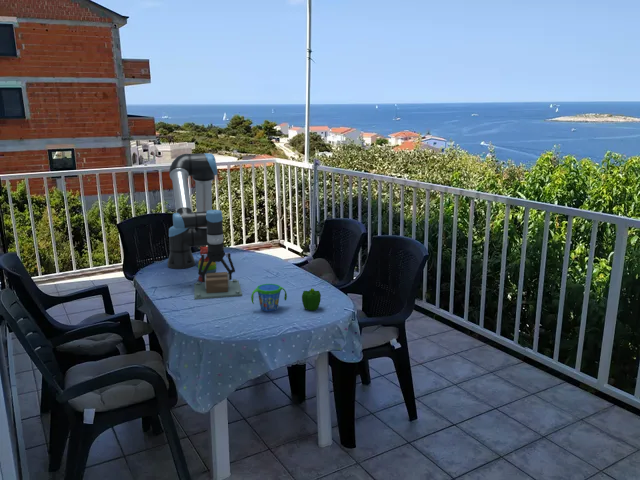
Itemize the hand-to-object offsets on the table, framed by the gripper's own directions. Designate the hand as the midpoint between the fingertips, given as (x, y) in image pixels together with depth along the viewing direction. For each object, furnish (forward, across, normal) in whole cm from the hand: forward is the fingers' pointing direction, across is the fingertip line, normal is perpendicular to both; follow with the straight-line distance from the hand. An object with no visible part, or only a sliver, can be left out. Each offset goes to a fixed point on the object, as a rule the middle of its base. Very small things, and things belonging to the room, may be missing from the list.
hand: (217, 287), depth 254 cm
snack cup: (+2, +21, -31) cm, 37 cm away
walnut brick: (+1, 0, 0) cm, 1 cm away
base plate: (+2, 0, 0) cm, 2 cm away
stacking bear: (+2, -4, +19) cm, 20 cm away
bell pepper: (+2, +39, -35) cm, 52 cm away
